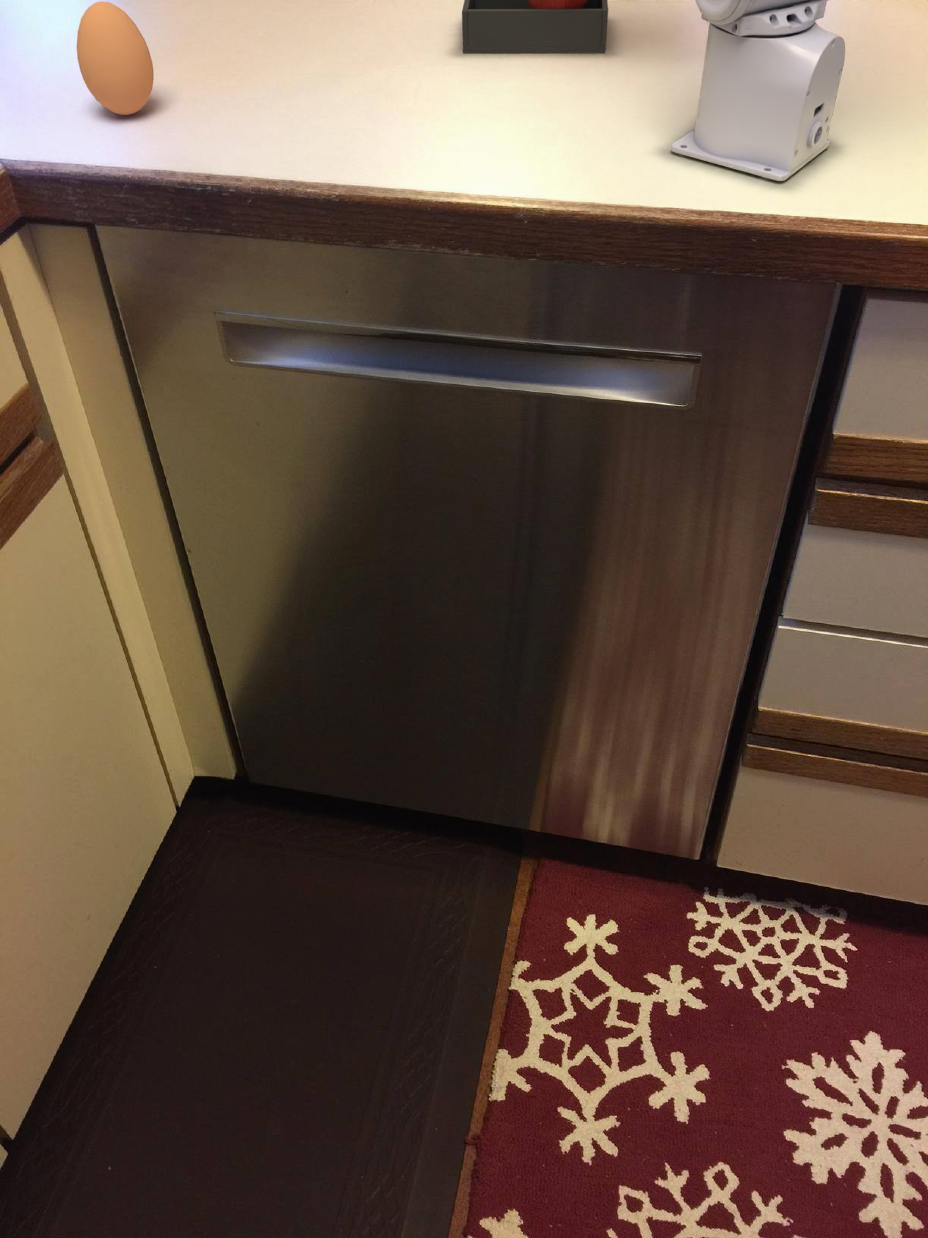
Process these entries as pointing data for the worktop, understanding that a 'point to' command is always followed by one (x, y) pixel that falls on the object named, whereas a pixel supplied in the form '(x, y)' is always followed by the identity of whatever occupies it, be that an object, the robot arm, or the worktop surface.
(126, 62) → the egg
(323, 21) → the worktop surface
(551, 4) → the onion
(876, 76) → the worktop surface
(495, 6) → the bin
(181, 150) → the worktop surface
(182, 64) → the worktop surface
